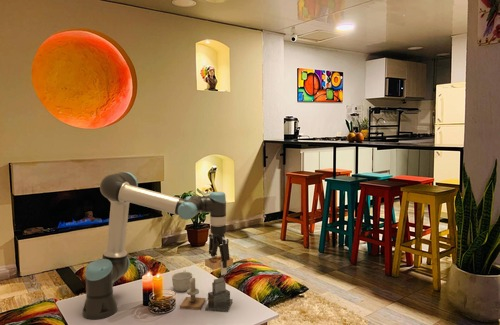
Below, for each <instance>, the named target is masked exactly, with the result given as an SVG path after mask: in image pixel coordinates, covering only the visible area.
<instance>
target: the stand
mask: <svg viewBox="0 0 500 325" xmlns="http://www.w3.org/2000/svg"><path fill="white" fill-rule="evenodd" d="M199 292H200V290H199V289H198V288H196V278H195V277H192V278H190V289H188V290H187V291H186V294H187V295H188V296H185V298H184V299H183V301H182V302H181V303H180V305H179V310H180V309H181V310H196V311H201V310H202V308H203V306H204V305H205V302H206V301H207V299H206V297H199V296H198V297H196V295H198V294H199Z"/></svg>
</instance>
